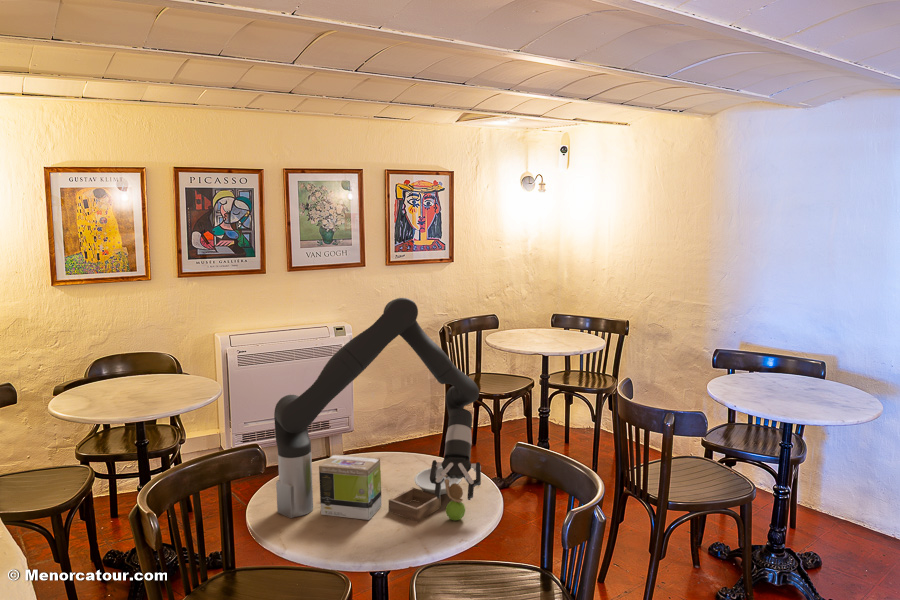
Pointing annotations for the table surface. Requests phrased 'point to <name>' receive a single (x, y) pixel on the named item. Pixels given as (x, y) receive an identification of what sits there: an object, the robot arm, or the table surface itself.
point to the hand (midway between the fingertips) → (453, 498)
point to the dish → (425, 484)
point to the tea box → (350, 486)
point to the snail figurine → (454, 501)
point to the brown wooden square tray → (401, 508)
